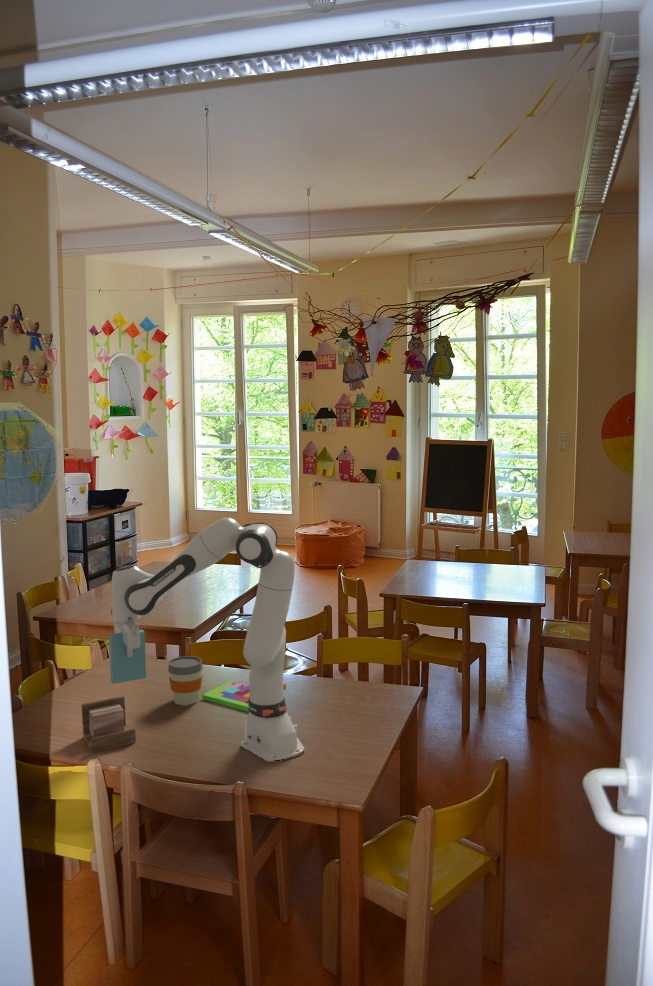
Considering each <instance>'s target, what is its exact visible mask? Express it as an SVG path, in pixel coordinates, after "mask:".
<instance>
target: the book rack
mask: <svg viewBox="0 0 653 986" xmlns="http://www.w3.org/2000/svg"><path fill="white" fill-rule="evenodd" d="M125 704H126V702H125V695H120V696H114V697H110V698H105V699H100V700H95V701H90V702H85V703H81V717H82V719H81V721H82V734H83V735H82V737H83V739H84V741H85V743H86V744H87V746H88V747H89V750H90V751H91V753H93V754H94V753H98V752H102V751H105V750H110V749H114V748H118V747H123V746H127V745H132V744H135V743H137V741H136V728H132V729H131V728H129V727H128V726H127V722H126V705H125Z"/></svg>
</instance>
